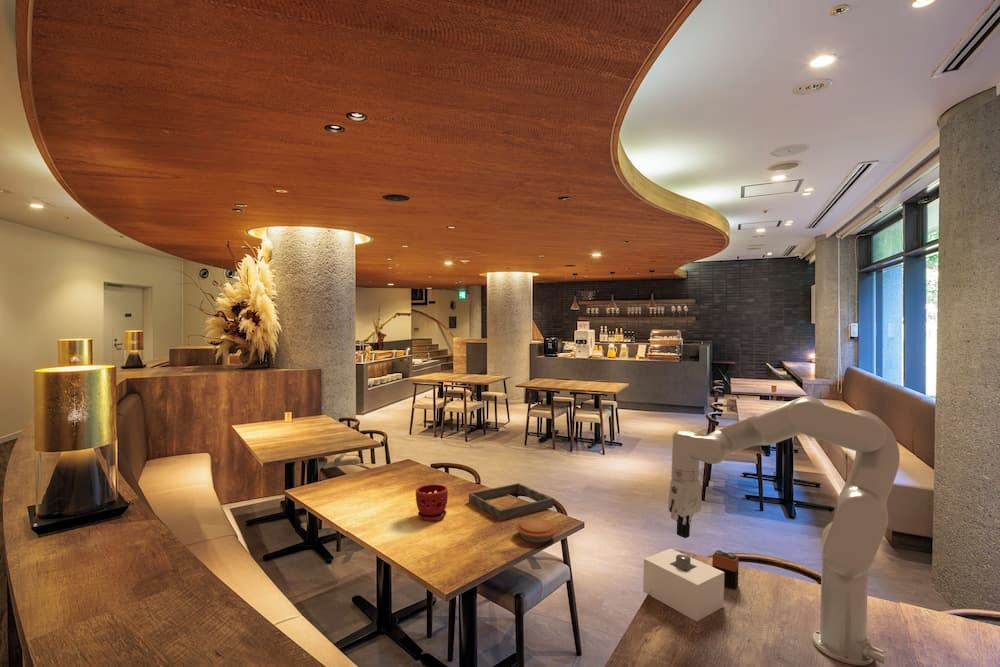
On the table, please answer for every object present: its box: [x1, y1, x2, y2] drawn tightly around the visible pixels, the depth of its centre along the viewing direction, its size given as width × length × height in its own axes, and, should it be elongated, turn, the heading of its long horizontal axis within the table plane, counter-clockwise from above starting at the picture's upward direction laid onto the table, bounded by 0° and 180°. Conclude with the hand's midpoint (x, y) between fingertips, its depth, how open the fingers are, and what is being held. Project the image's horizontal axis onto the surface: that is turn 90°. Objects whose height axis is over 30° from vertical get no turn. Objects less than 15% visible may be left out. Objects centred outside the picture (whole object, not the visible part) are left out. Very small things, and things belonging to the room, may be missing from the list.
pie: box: [515, 518, 558, 544], centre depth 187 cm, size 15×16×5 cm
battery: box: [711, 549, 740, 590], centre depth 154 cm, size 4×7×10 cm, turn 52°
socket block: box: [642, 548, 725, 622], centre depth 145 cm, size 18×13×10 cm
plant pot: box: [415, 483, 449, 522], centre depth 203 cm, size 13×13×12 cm
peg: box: [676, 554, 691, 572], centre depth 145 cm, size 4×4×8 cm
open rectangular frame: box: [468, 482, 554, 522], centre depth 219 cm, size 25×28×4 cm
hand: (682, 535), depth 145 cm, fingers closed
